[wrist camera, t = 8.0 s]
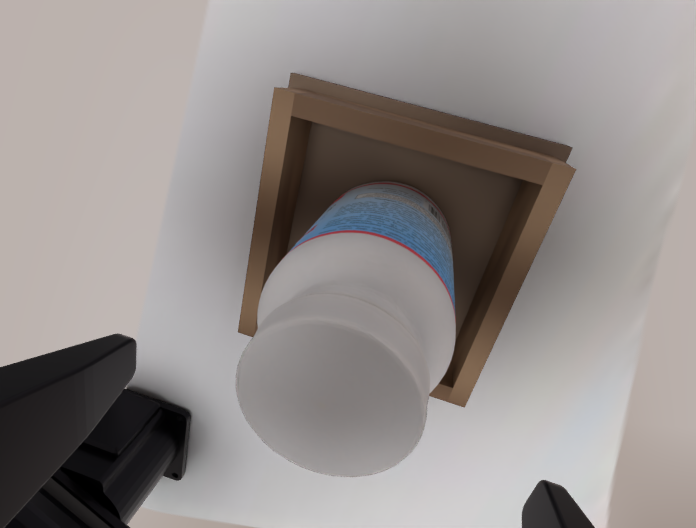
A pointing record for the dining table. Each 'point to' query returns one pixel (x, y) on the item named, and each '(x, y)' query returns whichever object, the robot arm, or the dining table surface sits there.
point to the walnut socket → (423, 174)
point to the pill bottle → (353, 334)
